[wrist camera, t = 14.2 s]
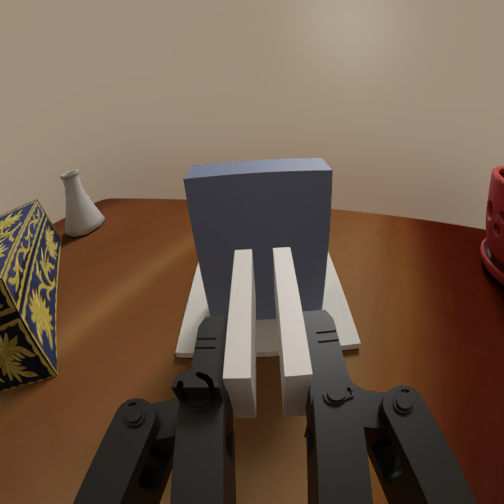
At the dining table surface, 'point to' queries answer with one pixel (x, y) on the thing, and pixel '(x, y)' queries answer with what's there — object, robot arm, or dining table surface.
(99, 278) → the dining table surface
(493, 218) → the plant pot
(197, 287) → the mat
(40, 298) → the decorative box
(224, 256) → the book
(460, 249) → the dining table surface
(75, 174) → the flask
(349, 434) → the robot arm
